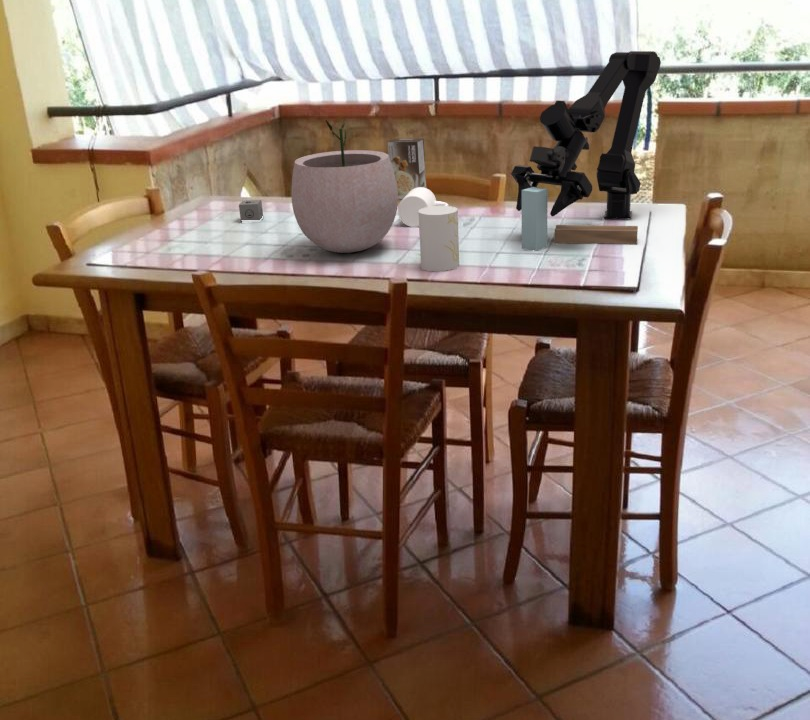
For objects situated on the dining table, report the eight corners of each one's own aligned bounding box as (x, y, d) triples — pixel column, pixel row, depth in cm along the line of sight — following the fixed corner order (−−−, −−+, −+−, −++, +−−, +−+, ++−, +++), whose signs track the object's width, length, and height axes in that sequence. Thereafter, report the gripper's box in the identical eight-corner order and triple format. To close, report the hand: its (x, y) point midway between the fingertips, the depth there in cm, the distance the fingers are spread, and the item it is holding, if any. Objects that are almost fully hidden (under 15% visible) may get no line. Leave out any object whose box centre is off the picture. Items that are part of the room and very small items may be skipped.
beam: (556, 237, 202) (556, 224, 201) (637, 238, 197) (637, 225, 196) (554, 242, 198) (554, 229, 197) (636, 244, 193) (637, 231, 192)
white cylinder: (456, 271, 182) (454, 214, 177) (417, 271, 183) (415, 215, 179) (461, 260, 189) (460, 205, 184) (424, 260, 191) (422, 205, 186)
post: (532, 244, 198) (532, 186, 193) (547, 246, 195) (547, 188, 190) (521, 248, 195) (521, 190, 190) (536, 251, 193) (536, 192, 188)
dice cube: (245, 219, 236) (242, 200, 234) (263, 218, 235) (261, 199, 234) (241, 223, 231) (238, 204, 229) (259, 222, 231) (257, 204, 229)
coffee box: (427, 195, 251) (425, 137, 245) (421, 200, 246) (418, 141, 239) (397, 194, 254) (394, 137, 248) (390, 199, 248) (386, 141, 242)
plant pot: (412, 236, 209) (406, 107, 198) (383, 266, 188) (374, 122, 176) (318, 234, 216) (307, 109, 204) (280, 262, 195) (265, 124, 183)
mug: (398, 227, 219) (396, 195, 216) (406, 217, 228) (405, 187, 225) (446, 227, 216) (445, 195, 213) (452, 217, 225) (451, 186, 222)
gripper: (516, 128, 195) (484, 186, 193) (586, 134, 183) (554, 196, 180) (537, 158, 203) (507, 215, 201) (606, 166, 191) (575, 226, 188)
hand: (534, 212), depth 192 cm, fingers open, 9 cm apart
